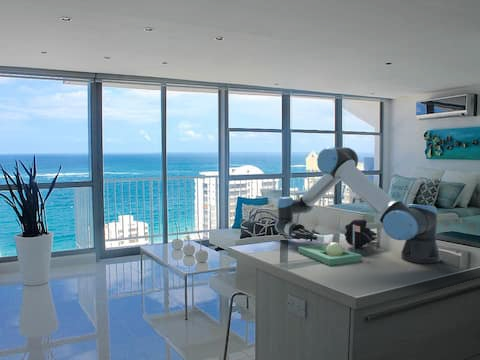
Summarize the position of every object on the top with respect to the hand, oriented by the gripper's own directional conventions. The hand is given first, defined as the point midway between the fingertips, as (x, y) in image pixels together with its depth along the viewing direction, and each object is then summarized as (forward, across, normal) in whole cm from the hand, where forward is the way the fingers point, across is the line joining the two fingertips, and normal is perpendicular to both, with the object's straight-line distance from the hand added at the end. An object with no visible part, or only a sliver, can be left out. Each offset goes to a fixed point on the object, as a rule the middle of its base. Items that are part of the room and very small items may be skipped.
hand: (322, 239), depth 184 cm
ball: (+9, 0, -3) cm, 9 cm away
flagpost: (+11, -10, -7) cm, 16 cm away
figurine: (-5, -23, -8) cm, 25 cm away
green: (+4, 0, -7) cm, 8 cm away
